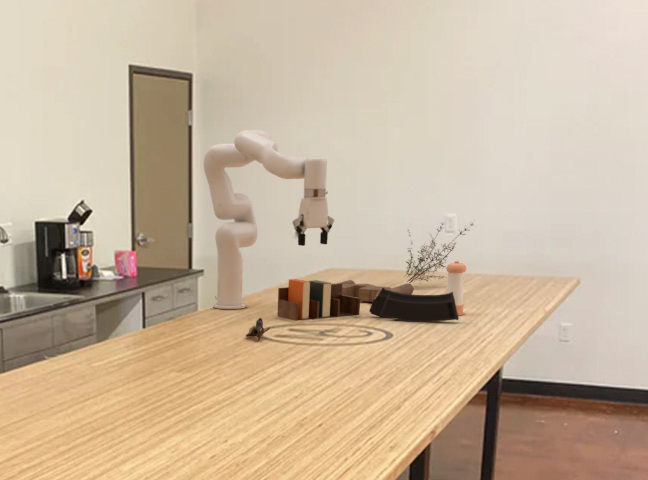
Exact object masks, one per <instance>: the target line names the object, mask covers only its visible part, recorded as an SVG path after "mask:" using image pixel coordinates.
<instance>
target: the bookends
mask: <svg viewBox="0 0 648 480" xmlns="http://www.w3.org/2000/svg"><path fill="white" fill-rule="evenodd" d="M340 283H341V284H342V295H346V296H351V297H356V298H360V302H367V303H369V302H370V303H372V302H373V300H374V299H375V297H376V295H377V293H378V291H379V290H380V292H381V290H382V288H385V289H386V290H391V291H394V292H398V293H404V294H412V295H413V293H414V286H413V285H412V284H411V283H404V284H400V285H398V286H394V287H391V286H379V285H374V284H370V283H356V282H355V281H354V280H352V279H348V280H344V281H340V282H337V283H336V284H340Z"/></svg>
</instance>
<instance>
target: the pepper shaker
mask: <svg viewBox="0 0 648 480" xmlns="http://www.w3.org/2000/svg"><path fill="white" fill-rule="evenodd" d="M445 269H446V272H447V281H446V282H447V283H446V288H445V292H444V294H448V293H451V292H453V296H454V299H455V304H456V309H457V313H458V316H463V314H464V276H465V275H464V273H465V272H466V271H467V265H466V264H465V263H462V262H460V261H459V260H454V262H450V263H448V264H447V265H446V267H445Z"/></svg>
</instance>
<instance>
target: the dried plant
mask: <svg viewBox="0 0 648 480" xmlns="http://www.w3.org/2000/svg"><path fill="white" fill-rule="evenodd" d="M474 222H475V220H473V222H472V221H471V222H470V225H469V227H466V225H464V230H460V231H459V234H458V235H457V236H456V237H455V238H454V239H453V240H452V241H451V242H450V244H452V246H450V245H449V243H448V244H447V245H446V243H444V244H440V245H441V247H442V251H440V249H437V251H436V249H435V248H436V247H437V245H438V243H437V242H436V238H437V236H438V234H436V235H435V238H434V237H433V235H432V234H430V237H432V238H431V239H432V240H430V241H429V243H430V245H427V247H426V243H424V245H423V247H422V246H419V248H420V251H419V250H417V253H419V254H420V255H419V254H417V265H416V264H415V263H416V261H415V260H413V259H414V258H415V257H414V255H415V254H414V253H412V249H411V248H410V247H407V252H409V253H410V259H409V260H408V261H405V263H406V264H408V265H407V267H406V274H405V275H404V277H407V278H409V279H407V281H406V283H408V284H411V283H412V282H414V281H418V282H420V281H421V282H422V281H426V282H429V281H431V279H430V278H432V279H436V278H437V275H435V274H432V275H430V273H435V272H436V273H437V272H438V269H441V270H443V269H444V268H447V265H446V266H445V265H444V264H445V263H447V259H446V258H448V256H449V254H450V253H451V252H453V251H454V249H455V245H457V243H455V240H456V239H457V238H458V237H459V236H461V235H462V236H465V235H466V233H464V232H467V231H471V230H470V229H469V228H470V227H471V226H474ZM439 224H441V225H440V226H439V227H438V226H437V228H436V230H437V233H440V232H441V230H442V228H443V225H444V226H445V224H446V222H444V221H442V222H441V223H439ZM407 232H408V234H407V235H408V237H411V232H410V230H409V229H407ZM410 245H413V240H412V239H411V240H410ZM408 249H409V250H408ZM430 249H431V250H430ZM433 251H434V252H433ZM446 251H447V254H445V255H444V256H443V254H442V252H444V253H446ZM432 253H433V254H432ZM428 260H429V261H428ZM443 261H444V262H443ZM435 262H436V263H435ZM432 263H433V264H432ZM419 266H420V267H419ZM425 266H426V267H425ZM432 268H434V270H432ZM410 270H411V271H410ZM413 272H414V273H413ZM426 273H427V274H428V275H427V274H426ZM444 278H446V279H448V276H443V275H442V276H441V275H438V280H441V279H443V280H444Z"/></svg>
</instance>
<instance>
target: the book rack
mask: <svg viewBox="0 0 648 480" xmlns="http://www.w3.org/2000/svg"><path fill="white" fill-rule="evenodd" d="M339 283H340V282H339ZM288 290H289V286H288V287H287V286H286V287H278V289H277V291H278V292H277V317H279V318H283V319H288V320H292V321H295V322H297V321H308V320H310V321H311V320H320V319H321V320H322V319H330V318H331V319H332V318H343V317H354V316H355V317H356V316H360V310H361V309H360V306H361V301H360V298H359V297H351V296H346V295H342V284H341V283H340V284H337V283H331V299H330V317H319V301H314V300H310V299H309V319H298V303H295V302H290V301H288Z"/></svg>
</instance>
